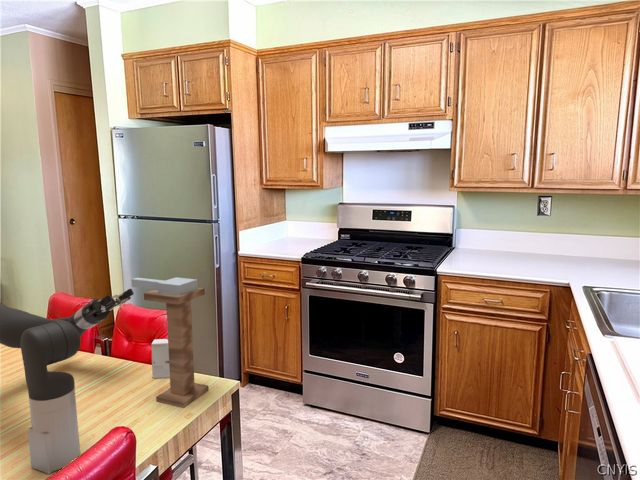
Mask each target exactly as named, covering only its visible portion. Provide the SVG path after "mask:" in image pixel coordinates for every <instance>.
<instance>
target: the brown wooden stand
mask: <svg viewBox="0 0 640 480" xmlns="http://www.w3.org/2000/svg"><path fill="white" fill-rule="evenodd" d="M205 294H206V292H205V287H198V289H197V290H194V291H191V292H189V293H186V294H183V295H180V296H179V295H171V294H163V293H158V290H155V289H152V290H149V291H146V292H144V293H143V300H144V301H148V302H149V301H150V302H157V303H162V304H163V303H164V304H165V305H166V306H165V308H166V325H167V326H166V329H167V339H168V349H169V368H170V377H169V380H170V381H169V382H170V383H169V384H170V388H168V389H166V390H164V391H163V392H161V393H159V394H158V395H156V396H155V400H156V402H158V403H162V404H165V405H170V406H173V407H178V408H180V409H181V408H182V409H184V408H185V407H186V406H187V407H188V405H189V404H190V403H192V402H194V401H195V400H197V399H198V398H200V397H202V395H204V394H205V393H207V392H208V391H209V385H207V384H201V383H197V382H195V364H194V343H193V341H194V340H193V321H192V300H194V299H197V298H199V297H202V296H204V295H205Z"/></svg>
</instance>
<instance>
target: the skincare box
mask: <svg viewBox="0 0 640 480" xmlns="http://www.w3.org/2000/svg"><path fill="white" fill-rule="evenodd" d="M151 370H152V375H151V376H152V379H159V378H160V379H164V378H170V368H169V349H168V338H162V339H161V338H159V339H158V338H157V339H153V341H152V343H151Z"/></svg>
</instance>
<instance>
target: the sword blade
mask: <svg viewBox="0 0 640 480" xmlns="http://www.w3.org/2000/svg"><path fill="white" fill-rule="evenodd" d="M198 286H199V285H198V279H195V278H194V279H193V278H187V277H185V278H184V277H176V276H175V277H173V278H170V279H166V280H163V279H154V278H145V277H143V278H142V277H134V278H131V288H140V289H148V290H158V293H163V294H171V295H179V296H180V295H183V294H186V293H189V292H191V291H194V290H197V289H198Z"/></svg>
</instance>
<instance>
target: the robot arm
mask: <svg viewBox="0 0 640 480" xmlns="http://www.w3.org/2000/svg"><path fill="white" fill-rule="evenodd" d="M134 295H135V294H134V291H133V289H132V288H128V289H126V290H125V291H124V292H122V293H119V295H118V294H115V295H113V296H111V294H108V295H106V296H105V297H103V298H102V299H100V298H93V299H92V300H91V301H89V302H88V303H86V304H85V305H83V306H82V307H80V308H79V309H78V310H77V311H76V312H74V313H72V314H71V315H70V316H69V317H68V316H67V317H60V318H47V317H43V316H40V315H36V314H33V313H30V312H28V311H24V310H22V309H18V308H15V307H14V308H13V307H9V306H8V305H5V304H3V303H1V302H0V344H1V345H2V346H6V347H8V348H11V349H20V350H21V351H20V352H21V356H22V363H23V370H24V375H25V383H26V387H27V393H28V400H29V401H28V403H29V412H30V423H31V427H30V428H28V429H27V437H28V438H27V439H28V446H29V456H30V457H29V458H30V467H31V468H32V469H34V470H36V471H40V472H42V473H44V474H48V475H50V474H51V473H53V472H55V471H59V470H62V469H64V468H63V467H64V466H66V465H67V464H69V463H70V462H71V461H72V460H74V459H75V458H77V457H78V456H79V457H80V456H81V448H80V447H81V446H80V433H79V432H80V431H79V422H78V409H77V398H76V385H75V377H74V375H72V374H71V373H69V372H66V371H65V372H64V371H49V370H48V366H51V365H53V364H56V363H59V362H62V361H66V360H68V359H70V358H73V357H74V356H75V355H76V354H77V353H78V352H79V350H80V348H81V344H82V339H81V337H83V335H84V333H85V332H86V331H88V330H89V329H91V328H94V327H96V326H97V325H98V324H100V323H102V322H103V321H105V320H106V319H108V317H109V316H110V314H111V311H112V310H114V309H115V308H116V307H119V306H121V305H123V304H124V303H127V301H130V300H131V299H132V296H134ZM61 468H62V469H61Z"/></svg>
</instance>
